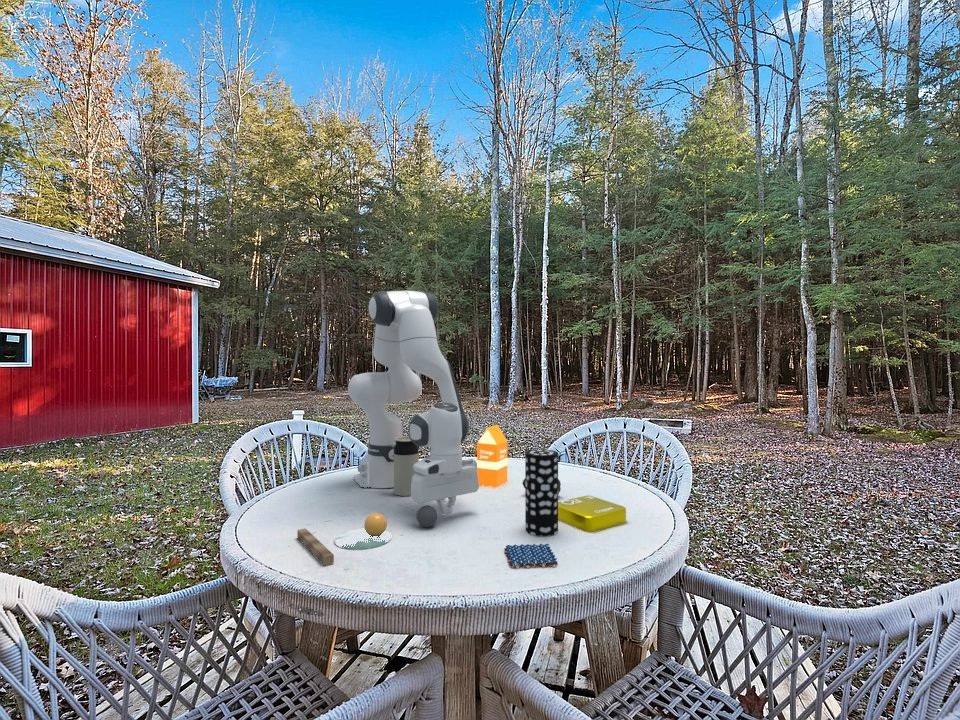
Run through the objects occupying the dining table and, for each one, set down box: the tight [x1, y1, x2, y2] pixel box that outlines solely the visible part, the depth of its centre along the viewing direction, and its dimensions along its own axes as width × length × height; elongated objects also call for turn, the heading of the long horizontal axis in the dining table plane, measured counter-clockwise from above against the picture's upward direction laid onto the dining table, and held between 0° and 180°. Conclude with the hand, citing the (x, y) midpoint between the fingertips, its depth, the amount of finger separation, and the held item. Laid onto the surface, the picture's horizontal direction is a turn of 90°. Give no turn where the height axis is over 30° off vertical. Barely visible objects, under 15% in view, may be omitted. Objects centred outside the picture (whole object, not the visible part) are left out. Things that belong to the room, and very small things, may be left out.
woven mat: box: [503, 543, 558, 570], centre depth 109 cm, size 10×11×2 cm
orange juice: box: [476, 424, 508, 488], centre depth 172 cm, size 8×9×20 cm
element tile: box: [558, 495, 627, 533], centre depth 134 cm, size 15×15×5 cm
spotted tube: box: [524, 448, 559, 537], centre depth 126 cm, size 8×8×20 cm
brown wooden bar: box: [296, 528, 335, 567], centre depth 114 cm, size 20×2×2 cm, turn 36°
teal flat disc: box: [341, 535, 388, 550], centre depth 121 cm, size 14×14×1 cm
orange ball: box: [363, 512, 388, 536], centre depth 123 cm, size 6×6×6 cm
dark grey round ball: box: [416, 504, 439, 528], centre depth 129 cm, size 6×6×6 cm
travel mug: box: [393, 435, 420, 497], centre depth 160 cm, size 8×8×18 cm
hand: (446, 513), depth 135 cm, fingers closed
